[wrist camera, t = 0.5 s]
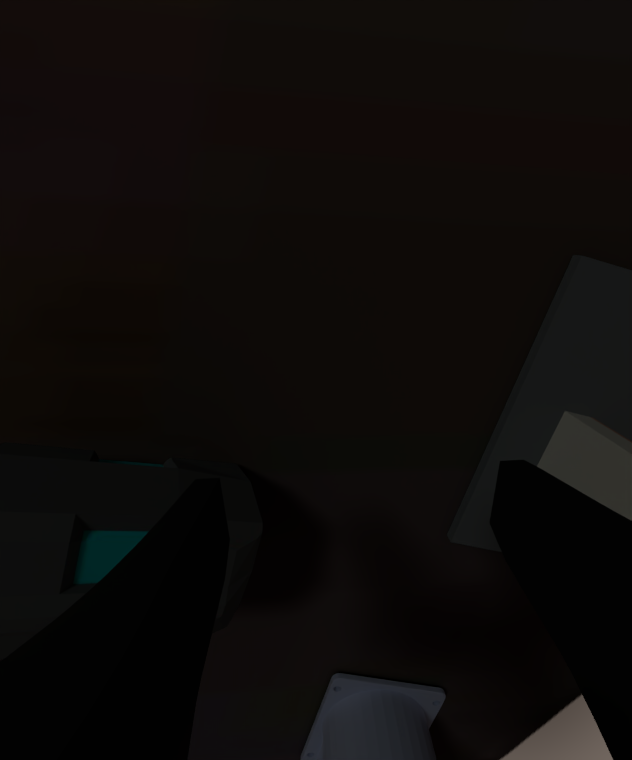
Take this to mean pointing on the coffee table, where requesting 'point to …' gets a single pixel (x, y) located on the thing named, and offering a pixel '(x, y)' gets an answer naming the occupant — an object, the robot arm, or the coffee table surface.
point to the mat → (560, 383)
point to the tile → (592, 461)
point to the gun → (98, 527)
